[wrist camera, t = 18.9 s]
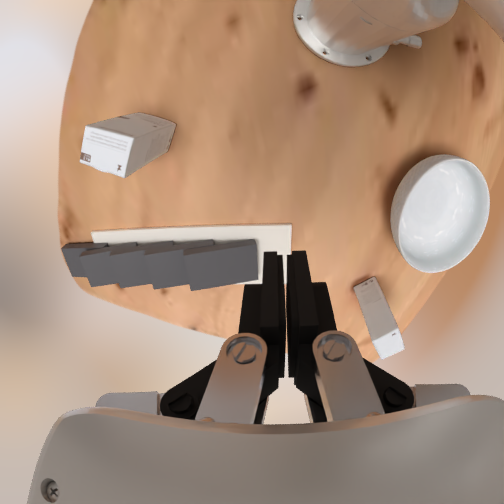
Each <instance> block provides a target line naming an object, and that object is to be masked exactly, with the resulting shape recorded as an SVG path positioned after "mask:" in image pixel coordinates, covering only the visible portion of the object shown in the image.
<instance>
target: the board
mask: <svg viewBox="0 0 504 504" xmlns="http://www.w3.org/2000/svg"><path fill="white" fill-rule="evenodd" d="M291 230H292V225H291V223H288V224H232V225H198V226H172V227H150V228H130V229H113V230H97V231H92V232H91V235H92V238H93V241H94V243H108V245H109V247H110V246H116V245H121V244H127V243H133V242H137V244H138V246H141V245H147V244H153V243H159V242H166V241H172V240H173V242H174V245H178V244H184V243H191V242H197V241H204V240H210V239H213V242H214V245H217V244H223V243H230V242H236V241H243V240H250V239H255V241H256V243H257V257H258V280H254V281H248V282H243V283H237V284H262V277H263V255H264V252H266V251H277V255H283V270H284V284H287V255H291Z"/></svg>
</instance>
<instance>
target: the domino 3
mask: <svg viewBox="0 0 504 504" xmlns="http://www.w3.org/2000/svg"><path fill="white" fill-rule="evenodd" d="M172 245H174V242H173V240H172V241H166V242H159V243H153V244H147V245H141V246H135V247H129V248H123V249H118V250H112V251H111V253H110V255H109V257H110V260H111V263H112V266H113V269H114V272H115V274H116V277H117V280H118V283H119V285H120V288H125V287H132V286H139V285H146V284H152V282H151V278H150V275H149V272H148V268H147V265H146V261H145V258H144V253H145V250H147V249H153V248H159V247H165V246H172Z"/></svg>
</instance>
